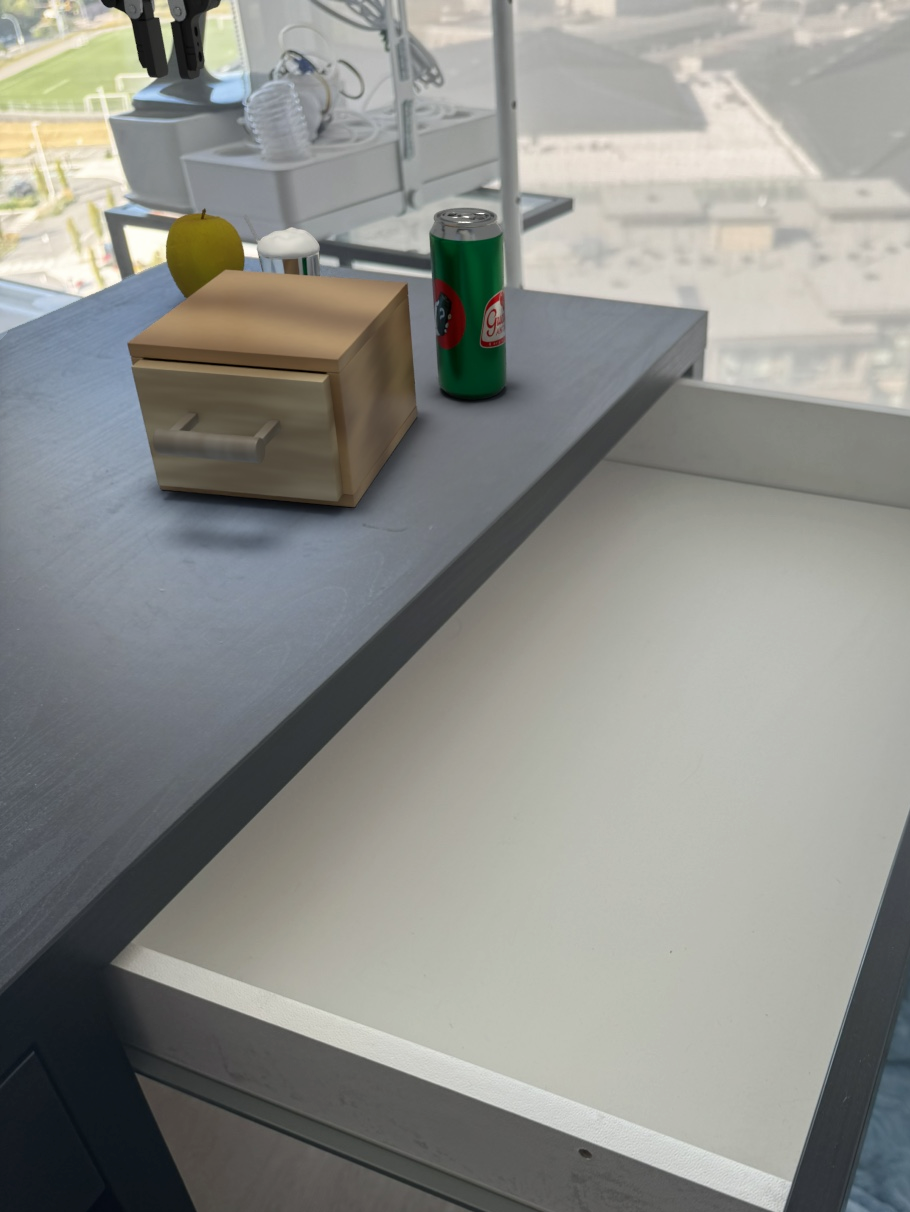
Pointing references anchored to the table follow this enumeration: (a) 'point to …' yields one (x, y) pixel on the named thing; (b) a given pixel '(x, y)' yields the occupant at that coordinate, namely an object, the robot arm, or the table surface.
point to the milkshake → (288, 252)
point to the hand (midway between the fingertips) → (174, 75)
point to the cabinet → (306, 353)
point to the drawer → (240, 428)
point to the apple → (202, 250)
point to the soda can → (469, 302)
